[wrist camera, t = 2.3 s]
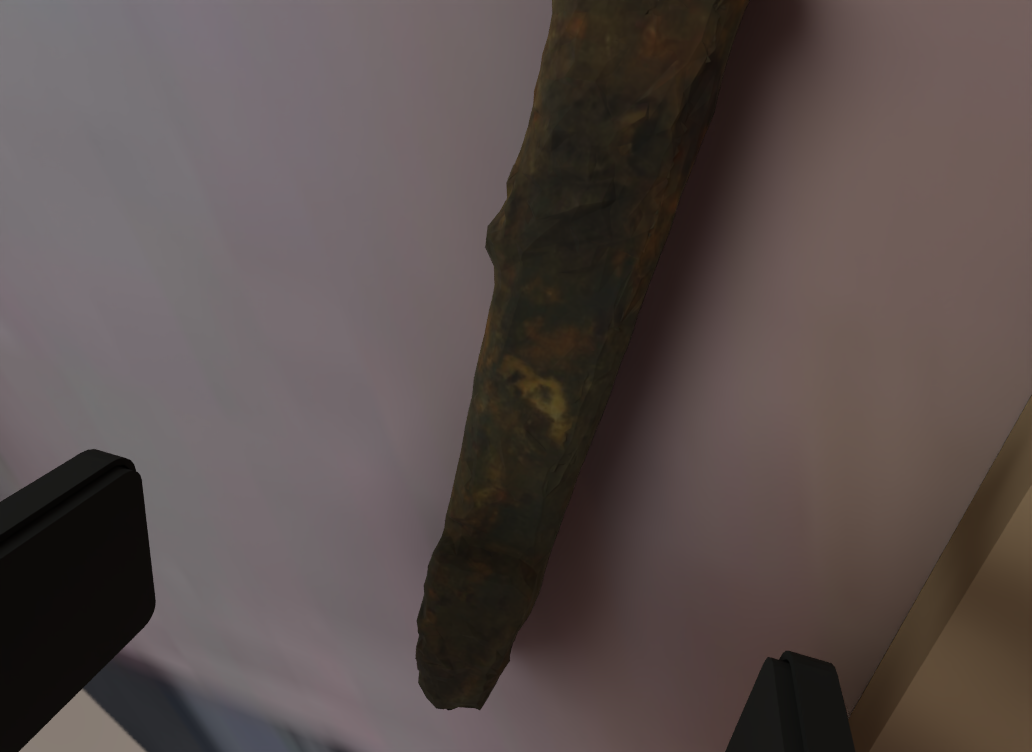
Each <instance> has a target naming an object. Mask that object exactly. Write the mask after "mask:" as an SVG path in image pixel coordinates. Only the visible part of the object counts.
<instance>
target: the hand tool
mask: <svg viewBox="0 0 1032 752" xmlns="http://www.w3.org/2000/svg"><path fill="white" fill-rule="evenodd" d="M749 1H750V0H552V19H551V24H550V29H549V34H548V38H547V41H546V44H545V48H544V51H543V54H542V61H541V68H540V72H539V76H538V79H537V83H536V86H535V90H534V102H533V108H532V112H531V116H530V120H529V125H528V128H527V131H526V134H525V138H524V141H523V144H522V147H521V150H520V153H519V155H518V158H517V160H516V162H515V165H513V168H512V170H511V173H510V175H509V178H508V181H507V200H506V201H505V203H504V205H503V207H502V208H501V210H500V212H499V213H498V214H497V215H496V217H495V218H494V219H493V220H492V222H491V223H490V224H489V225H488V229H487V237H486V246H485V248H486V250H487V252H488V254H489V256H490V258H491V261H492V263H493V265H494V281H495V287H494V292H493V297H492V301H491V305H490V309H489V314H488V319H487V324H486V329H485V334H484V338H483V342H482V346H481V350H480V354H479V359H478V363H477V368H476V372H475V377H474V384H473V394H472V399H471V403H470V407H469V411H468V416H467V421H466V426H465V431H464V437H463V443H462V448H461V454H460V458H459V462H458V467H457V471H456V475H455V480H454V485H453V489H452V494H451V498H450V502H449V506H448V510H447V514H446V520H445V528H444V531H443V534H442V537H441V539H440V541H439V543H438V545H437V546H436V548H435V550H434V552H433V554H432V557H431V560H430V562H429V565H428V573H427V577H426V580H425V583H424V597H423V601H422V604H421V608H420V611H419V614H418V618H417V626H418V633H419V638H418V642H417V646H416V658H415V659H416V660H417V668H418V670H419V680H418V683H419V685H420V687H421V689H422V690H423V692H424V694H425V696H426V698H427V699H428V700H429V701H430V702H431V703H432V704H433V705H434V706H435V707H436V708H438V709H447V710H452V709H455V708H457V707H465V708H476V709H478V710H480V709H481V708H482V706H483V705H484V703H485V702H486V700H487V698H488V697H489V695H490V693H491V691H492V690H493V688H494V686H495V685H496V683H497V681H498V678H499V676H500V675H501V673H502V672H503V670H504V669H505V667H506V666H507V664H508V663H509V661H510V653H511V648H512V644H513V642H514V640H515V638H516V635H517V633H518V631H519V630H520V628H521V627H522V625H523V624H524V622H525V621H526V619H527V618H528V616H529V615H530V613H531V611H532V608H533V606H534V604H535V601H536V599H537V597H538V594H539V591H540V588H541V585H542V581H543V576H544V573H545V569H546V566H547V562H548V559H549V556H550V553H551V549H552V547H553V544H554V541H555V539H556V536H557V533H558V531H559V528H560V525H561V522H562V519H563V516H564V513H565V510H566V508H567V505H568V503H569V500H570V498H571V495H572V492H573V489H574V485H575V483H576V480H577V477H578V474H579V471H580V469H581V466H582V464H583V462H584V460H585V457H586V455H587V452H588V450H589V447H590V444H591V442H592V439H593V437H594V434H595V431H596V429H597V427H598V424H599V422H600V420H601V417H602V415H603V412H604V409H605V407H606V404H607V401H608V398H609V396H610V393H611V390H612V387H613V384H614V381H615V378H616V376H617V373H618V370H619V367H620V364H621V361H622V359H623V356H624V354H625V352H626V350H627V348H628V345H629V342H630V339H631V336H632V332H633V329H634V326H635V323H636V320H637V316H638V313H639V310H640V308H641V305H642V303H643V300H644V297H645V294H646V292H647V289H648V286H649V284H650V281H651V278H652V276H653V273H654V270H655V268H656V265H657V262H658V260H659V257H660V255H661V252H662V250H663V247H664V245H665V242H666V240H667V237H668V234H669V232H670V229H671V226H672V223H673V219H674V216H675V213H676V209H677V206H678V203H679V199H680V196H681V194H682V191H683V189H684V187H685V185H686V182H687V180H688V178H689V175H690V172H691V170H692V167H693V164H694V162H695V159H696V156H697V153H698V151H699V148H700V145H701V143H702V140H703V138H704V136H705V133H706V131H707V129H708V127H709V124H710V122H711V119H712V117H713V114H714V111H715V107H716V103H717V98H718V94H719V90H720V86H721V82H722V78H723V73H724V70H725V67H726V64H727V60H728V57H729V54H730V51H731V48H732V44H733V42H734V39H735V36H736V33H737V30H738V28H739V25H740V22H741V19H742V16H743V14H744V11H745V9H746V7H747V5H748V3H749Z"/></svg>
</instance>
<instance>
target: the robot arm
mask: <svg viewBox="0 0 1032 752" xmlns="http://www.w3.org/2000/svg"><path fill="white" fill-rule="evenodd" d="M155 601H156V600H155V592H154V583H153V574H152V565H151V557H150V548H149V539H148V530H147V522H146V513H145V504H144V495H143V487H142V479H141V476H140V474H139V473H138V472H136V469H135V466H134V464H133V462H132V461H131V460H129V459H127V458H124V457H120V456H117V455H113V454H110V453H106V452H103V451H99V450H96V449H91V450H87V451H84V452H82V453H80V454H78V455H77V456H75V457H73V458H72V459H70V460H69V461H67V462H65V463H64V464H62V465H60V466H59V467H57V468H55V469H54V470H52V471H50V472H49V473H47V474H45V475H44V476H42V477H41V478H39V479H37V480H36V481H34V482H32V483H31V484H29V485H27V486H26V487H24V488H22V489H21V490H19V491H18V492H16V493H14V494H13V495H11V496H9V497H8V498H6V499H4V500H3V501H1V502H0V752H19V751H20V750H21V748H23V747H24V746H25V745H26V744H27V743H28V741H30V740H31V739H32V738H33V737H34V736H35V735H36V734H37V733H38V732H39V731H40V730H41V729H42V728H43V727H44V726H45V725H46V724H47V723H48V722H49V721H50V720H51V719H52V718H53V717H54V716H55V715H56V714H57V713H58V712H59V711H60V710H61V709H62V708H63V707H64V706H65V705H66V704H67V703H68V702H69V701H70V700H71V699H72V698H73V697H74V696H75V695H76V694H77V693H78V692H79V691H80V690H81V689H82V688H83V687H84V686H85V685H86V684H87V683H88V682H89V681H90V680H91V679H92V678H93V677H94V676H95V675H96V674H97V673H98V672H99V671H100V670H101V669H102V668H103V667H104V666H105V665H106V664H107V663H108V662H109V661H110V660H111V659H113V658H114V657H115V656H116V655H117V654H118V653H119V652H120V651H121V650H122V649H123V648H124V647H125V646H126V645H127V644H128V643H129V642H130V641H131V640H132V639H133V638H134V637H135V636H136V635H137V634H138V633H139V632H140V631H141V630H142V629H143V628H144V627H145V625H146V624H147V623H148V622H149V620H150V618H151V617H152V614H153V612H154V609H155ZM725 752H856V751H855V747H854V743H853V739H852V734H851V730H850V726H849V722H848V717H847V713H846V709H845V705H844V700H843V696H842V692H841V687H840V683H839V679H838V675H837V672H836V669H835V667H834V666H833V664H832V663H829V662H825V661H822V660H818V659H815V658H811V657H808V656H805V655H801V654H798V653H794V652H791V651H785V652H784V653H783V654H782V656H781V657H780V659H779V660H777V659H774V658H770V657H768V658H767V659H766V660H765V662H764V664H763V666H762V668H761V670H760V673H759V675H758V677H757V680H756V682H755V684H754V687H753V689H752V691H751V693H750V696H749V698H748V700H747V703H746V705H745V707H744V710H743V712H742V714H741V717H740V719H739V721H738V723H737V726H736V728H735V730H734V733H733V735H732V737H731V740H730V742H729V744H728V747H727V749H726V751H725Z"/></svg>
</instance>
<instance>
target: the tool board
mask: <svg viewBox="0 0 1032 752" xmlns="http://www.w3.org/2000/svg"><path fill="white" fill-rule="evenodd" d="M848 722H849V726H850V730H851V734H852V739H853V743H854V747H855V751H856V752H1032V396H1031V398H1030V399H1029V401H1028V403H1027V405H1026V406H1025V408H1024V410H1023V412H1022V413H1021V415H1020V417H1019V419H1018V421H1017V422H1016V424H1015V426H1014V428H1013V429H1012V431H1011V433H1010V435H1009V436H1008V438H1007V440H1006V442H1005V443H1004V445H1003V447H1002V449H1001V451H1000V452H999V454H998V456H997V458H996V459H995V461H994V463H993V465H992V466H991V468H990V470H989V472H988V474H987V475H986V477H985V479H984V481H983V482H982V484H981V486H980V488H979V489H978V491H977V493H976V495H975V497H974V498H973V500H972V502H971V504H970V505H969V507H968V509H967V511H966V512H965V514H964V516H963V518H962V520H961V521H960V523H959V525H958V527H957V528H956V530H955V532H954V534H953V535H952V537H951V539H950V541H949V542H948V544H947V546H946V548H945V550H944V551H943V553H942V555H941V557H940V558H939V560H938V562H937V564H936V565H935V567H934V569H933V571H932V573H931V574H930V576H929V578H928V580H927V581H926V583H925V585H924V587H923V588H922V590H921V592H920V594H919V596H918V597H917V599H916V601H915V603H914V604H913V606H912V608H911V610H910V611H909V613H908V615H907V617H906V619H905V620H904V622H903V624H902V626H901V627H900V629H899V631H898V633H897V634H896V636H895V638H894V640H893V641H892V643H891V645H890V647H889V649H888V650H887V652H886V654H885V656H884V657H883V659H882V661H881V663H880V664H879V666H878V668H877V670H876V672H875V673H874V675H873V677H872V679H871V680H870V682H869V684H868V686H867V687H866V689H865V691H864V693H863V695H862V696H861V698H860V700H859V702H858V703H857V705H856V707H855V709H854V710H853V712H852V714H851V716H850V718H849V719H848Z"/></svg>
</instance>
